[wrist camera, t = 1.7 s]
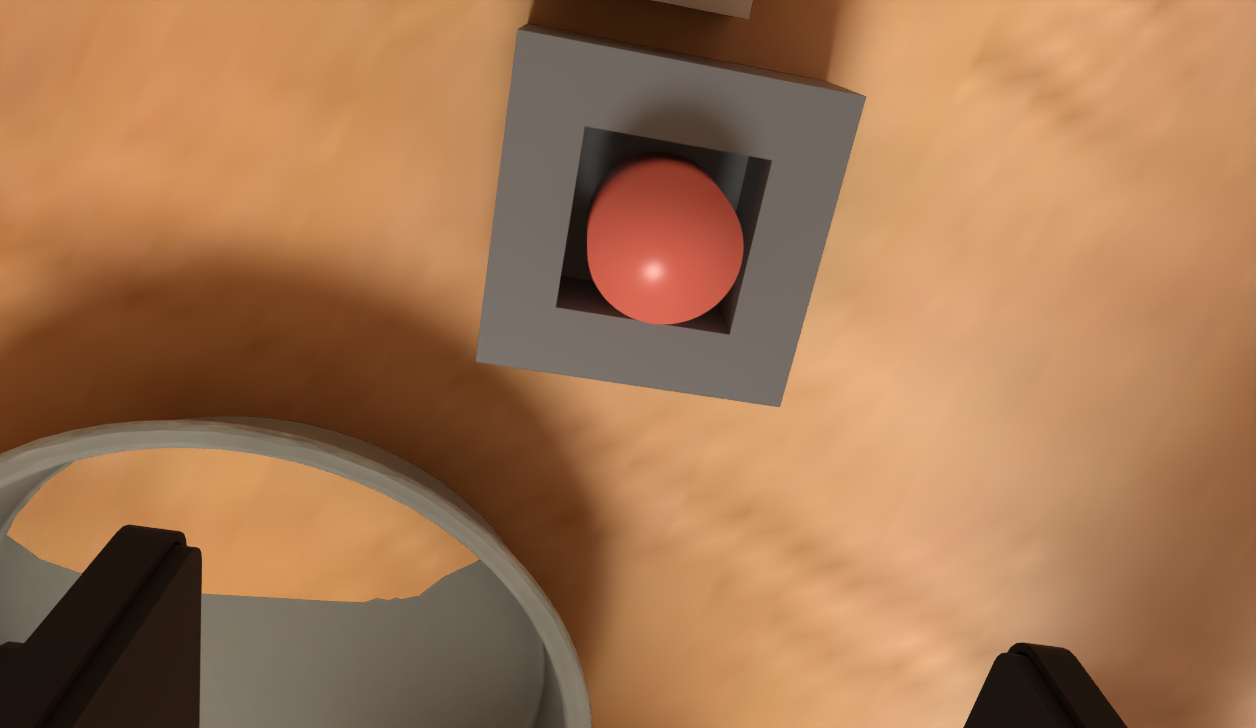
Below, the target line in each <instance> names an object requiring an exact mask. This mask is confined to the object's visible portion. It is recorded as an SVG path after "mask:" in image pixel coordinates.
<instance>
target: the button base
mask: <svg viewBox="0 0 1256 728" xmlns="http://www.w3.org/2000/svg"><path fill="white" fill-rule="evenodd" d="M865 99H866V96H864V95H861V94H858V93H856V92H853V91H851V90H848V89H845V88H843V87H840V86H837V85H835V84H832V83H830V82H827V81H822V80H817V79H812V78H807V77H802V76H796V75H791V74H786V73H781V72H776V71H771V70H765V69H760V68H755V67H750V66H745V65H740V64H734V63H729V62H724V61H719V60H714V59H709V58H703V57H698V56H693V55H688V54H683V53H678V52H672V51H667V50H662V49H657V48H652V47H647V46H641V45H636V44H631V43H626V42H621V41H616V40H610V39H605V38H600V37H595V36H590V35H585V34H579V33H574V32H569V31H564V30H559V29H554V28H548V27H543V26H538V25H533V24H528V23H527V24H526V25H524V26H522V27H521V28H519V29H518V31H517V39H516V46H515V54H514V62H513V70H512V78H511V86H510V94H509V102H508V110H507V118H506V125H505V133H504V141H503V149H502V157H501V165H500V173H499V181H498V189H497V196H496V204H495V212H494V220H493V228H492V236H491V244H490V252H489V260H488V267H487V275H486V283H485V291H484V299H483V307H482V315H481V323H480V331H479V339H478V346H477V354H476V362H480V363H486V364H493V365H500V366H506V367H513V368H520V369H527V370H533V371H540V372H547V373H553V374H560V375H567V376H574V377H580V378H587V379H594V380H600V381H607V382H614V383H621V384H627V385H634V386H641V387H647V388H654V389H661V390H668V391H674V392H681V393H688V394H694V395H701V396H708V397H715V398H721V399H728V400H735V401H741V402H748V403H755V404H762V405H768V406H775V407H780V405H781V401H782V398H783V394H784V391H785V387H786V383H787V380H788V376H789V373H790V369H791V365H792V362H793V358H794V355H795V351H796V347H797V344H798V340H799V337H800V333H801V329H802V326H803V322H804V319H805V315H806V311H807V308H808V304H809V301H810V297H811V293H812V290H813V286H814V283H815V279H816V275H817V272H818V268H819V265H820V261H821V257H822V254H823V250H824V247H825V243H826V239H827V236H828V232H829V229H830V225H831V221H832V218H833V214H834V211H835V207H836V203H837V200H838V196H839V193H840V189H841V185H842V182H843V178H844V175H845V171H846V167H847V164H848V160H849V156H850V153H851V149H852V146H853V142H854V138H855V135H856V131H857V128H858V124H859V120H860V117H861V113H862V110H863V106H864V102H865ZM648 152H669V153H674V154H678V155H681V156H684V157H686V158H689V159H690V160H692V161H694V162H696V163H697V164H698V165H700V166H701V167H702V168H704V169H705V170H706V171H707V172H708V173H709V174H710V176H711V177H712V178H713V180H714V181H715V182H716V184H717V185H718V187H719V188H720V190H721V191H722V193H723V194H724V196H725V197H726V199H727V200H728V201H729V203H730V204H731V206H732V208H733V209H734V211H735V213H736V215H737V217H738V220H739V222H740V225H741V230H742V234H743V243H744V246H743V258H742V264H741V267H740V270H739V273H738V275H737V278H736V280H735V282H734V284H733V285H732V287H731V288H730V290H729V291H728V293H727V294H726V295H725V296H724V298H723V299H722V300H721V301H720V302H719V303H717V304H716V305H715V306H714V307H713V308H711V309H710V310H709V311H707V312H705V313H704V314H702V315H700V316H698V317H696V318H693V319H691V320H688V321H684V322H681V323H675V324H651V323H646V322H642V321H639V320H636V319H633V318H631V317H629V316H627V315H625V314H623V313H622V312H620V311H619V310H617V309H616V308H614V307H613V306H612V305H611V304H610V303H609V302H608V301H607V300H606V299H605V298H604V296H603V295H602V294H601V292H600V291H599V289H598V288H597V286H596V284H595V282H594V280H593V278H592V275H591V272H590V268H589V263H588V254H587V215H588V208H589V204H590V200H591V198H592V195H593V193H594V191H595V189H596V187H597V185H598V184H599V183H600V181H601V180H602V178H603V177H604V176H605V175H606V174H607V173H608V172H609V171H610V170H611V169H612V168H614V167H615V166H616V165H617V164H619V163H621V162H622V161H624V160H626V159H628V158H630V157H632V156H635V155H639V154H642V153H648Z"/></svg>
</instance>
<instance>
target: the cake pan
mask: <svg viewBox="0 0 1256 728" xmlns="http://www.w3.org/2000/svg"><path fill="white" fill-rule="evenodd" d="M152 448H203V449H222V450H230V451H238V452H246V453H254V454H259V455H265V456H270V457H276V458H280V459H284V460H288V461H292V462H296V463H300V464H304V465H308V466H311V467H314V468H317V469H321V470H324V471H327V472H331V473H334V474H336V475H339V476H342V477H344V478H347V479H350V480H352V481H355V482H358V483H360V484H362V485H365V486H367V487H369V488H371V489H374V490H376V491H378V492H381V493H383V494H385V495H387V496H389V497H391V498H393V499H394V500H396V501H398V502H400V503H402V504H404V505H406V506H408V507H410V508H412V509H413V510H415V511H416V512H418V513H419V514H421V515H423V516H424V517H426V518H427V519H429V520H430V521H432V522H434V523H435V524H436V525H438V526H439V527H441V528H442V529H443V530H445V531H446V532H448V533H449V534H450V535H452V536H453V537H455V538H456V539H457V540H459V541H460V542H461V543H462V544H463V545H465V546H466V547H467V548H468V549H470V550H471V551H472V552H473V553H474V554H475V555H476V556H477V557H478V558H479V559H480V560H479V561H477V562H475V563H472V564H470V565H468V566H466V567H464V568H462V569H460V570H457V571H455V572H453V573H451V574H449V575H447V576H445V577H443V578H442V579H440V580H439V581H438V582H436V583H435V584H434V585H432V586H431V587H430V588H429V589H427V590H426V591H425V592H423V593H422V594H421V595H420V596H416V597H411V598H406V599H398V598H394V599H391V600H384V599H378V598H377V599H373V600H370V601H367V602H364V603H363V602H338V601H320V600H302V599H285V598H267V597H250V596H232V595H215V594H201V659H200V728H592V712H591V706H590V700H589V692H588V689H587V685H586V681H585V677H584V673H583V668H582V665H581V663H580V660H579V657H578V654H577V651H576V648H575V646H574V644H573V642H572V640H571V637H570V635H569V633H568V631H567V629H566V627H565V625H564V623H563V621H562V619H561V618H560V616H559V614H558V612H557V611H556V609H555V608H554V606H553V605H552V603H551V601H550V599H549V598H548V597H547V596H546V595H545V593H544V591H543V590H542V589H541V587H540V586H539V585H538V583H537V582H536V581H535V579H534V578H533V577H532V576H531V574H530V573H529V572H528V571H527V569H526V568H525V567H524V566H523V565H522V564H521V563H520V562H519V560H518V559H517V558H516V557H515V556H514V555H513V554H512V553H511V551H510V550H509V548H508V547H507V545H506V544H505V543H504V542H503V540H502V539H501V538H500V537H499V535H498V534H497V533H496V532H495V530H494V529H493V528H492V527H491V526H490V525H489V524H488V523H487V521H486V520H485V519H484V518H483V517H482V516H481V515H480V514H479V513H478V512H477V511H476V510H475V509H474V508H472V507H471V506H470V505H469V504H468V503H467V502H466V501H465V500H464V499H462V498H461V497H460V496H459V495H458V494H456V493H455V492H454V491H452V490H451V489H450V488H448V487H447V486H446V485H444V484H443V483H442V482H441V481H439V480H438V479H436V478H435V477H433V476H432V475H430V474H428V473H427V472H425V471H424V470H422V469H420V468H419V467H417V466H416V465H414V464H412V463H410V462H409V461H407V460H405V459H403V458H401V457H399V456H397V455H395V454H393V453H391V452H389V451H386V450H384V449H382V448H380V447H378V446H375V445H373V444H370V443H368V442H365V441H363V440H360V439H357V438H354V437H351V436H348V435H345V434H342V433H339V432H336V431H332V430H329V429H325V428H321V427H317V426H313V425H308V424H304V423H299V422H293V421H286V420H279V419H273V418H263V417H247V416H210V417H193V418H182V419H177V420H153V421H131V422H123V423H111V424H103V425H98V426H91V427H87V428H81V429H75V430H71V431H67V432H63V433H59V434H55V435H52V436H47V437H43V438H39V439H37V440H34V441H32V442H29V443H27V444H24V445H21V446H19V447H16V448H13V449H11V450H8V451H5V452H3V453H1V454H0V645H2V644H4V643H6V642H8V641H11V642H20V643H25V641H26V640H27V639H28V638H29V637H30V635H31V634H32V633H33V632H34V631H35V630H36V628H37V627H38V626H39V625H40V624H41V622H42V621H43V620H44V619H45V618H46V616H47V615H48V614H49V613H50V612H51V610H52V609H53V608H54V607H55V606H56V604H57V603H58V602H59V601H60V600H61V598H62V597H63V596H64V595H65V594H66V592H67V591H68V590H69V589H70V588H71V586H72V585H73V584H74V583H75V582H76V581H77V579H78V578H79V577H80V576H81V575H82V574H81V573H78V572H75V571H73V570H70V569H67V568H64V567H61V566H58V565H55V564H53V563H50V562H47V561H44V560H41V559H39V558H38V557H37V556H35V555H34V554H33V553H31V552H30V551H28V550H27V549H25V548H24V547H23V546H21V545H20V544H18V543H17V542H15V541H14V540H13V539H11V538H10V537H8V536H7V535H6V534H7V532H8V530H9V528H10V526H11V524H12V522H13V520H14V518H15V516H16V515H17V514H18V513H19V511H20V510H21V509H22V508H23V507H24V506H25V505H26V503H27V502H28V501H29V500H30V499H31V498H32V497H33V495H34V494H35V493H36V492H37V491H38V490H39V489H40V488H41V486H42V485H43V484H44V483H45V482H47V481H48V480H49V479H50V478H51V477H53V476H54V475H56V474H57V473H59V472H60V471H62V470H63V469H65V468H66V467H67V466H69V465H70V464H71V463H73V462H74V461H76V460H80V459H84V458H88V457H93V456H98V455H104V454H109V453H115V452H123V451H130V450H141V449H152Z"/></svg>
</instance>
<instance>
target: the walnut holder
mask: <svg viewBox="0 0 1256 728" xmlns="http://www.w3.org/2000/svg"><path fill="white" fill-rule="evenodd" d="M652 1H657V2H662V3H667V4H672V5H678V6H683V7H688V8H693V9H698V10H703V11H708V12H713V13H718V14H723V15H728V16H733V17H738V18H743V19H749V16H750V11H751V7H752V2H753V0H652Z"/></svg>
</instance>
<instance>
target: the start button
mask: <svg viewBox="0 0 1256 728" xmlns="http://www.w3.org/2000/svg"><path fill="white" fill-rule="evenodd" d="M743 246H744V243H743V234H742V230H741V225H740V222H739V220H738V217H737V215H736V213H735V211H734V209H733V208H732V206H731V204H730V203H729V201H728V200H727V199H726V197H725V196H724V194H723V193H722V191H721V190H720V188H719V187H718V185H717V184H716V182H715V181H714V180H713V178H712V177H711V176H710V174H709V173H708V172H707V171H706V170H705V169H704V168H702V167H701V166H700V165H698V164H697V163H696V162H694V161H692V160H690V159H689V158H686V157H684V156H681V155H678V154H674V153H669V152H648V153H642V154H639V155H635V156H632V157H630V158H628V159H626V160H624V161H622V162H621V163H619V164H617V165H616V166H615V167H614V168H612V169H611V170H610V171H609V172H608V173H607V174H606V175H605V176H604V177H603V178H602V180H601V181H600V183H599V184H598V185H597V187H596V189H595V191H594V193H593V195H592V198H591V200H590V204H589V208H588V215H587V254H588V263H589V268H590V272H591V275H592V278H593V280H594V282H595V284H596V286H597V288H598V289H599V291H600V292H601V294H602V295H603V296H604V298H605V299H606V300H607V301H608V302H609V303H610V304H611V305H612V306H613V307H614V308H616V309H617V310H619V311H620V312H622V313H623V314H625V315H627V316H629V317H631V318H633V319H636V320H639V321H642V322H646V323H651V324H675V323H681V322H684V321H688V320H691V319H693V318H696V317H698V316H700V315H702V314H704V313H705V312H707V311H709V310H710V309H711V308H713V307H714V306H715V305H716V304H717V303H719V302H720V301H721V300H722V299H723V298H724V296H725V295H726V294H727V293H728V291H729V290H730V288H731V287H732V285H733V284H734V282H735V280H736V278H737V275H738V273H739V270H740V267H741V264H742V258H743Z"/></svg>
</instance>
